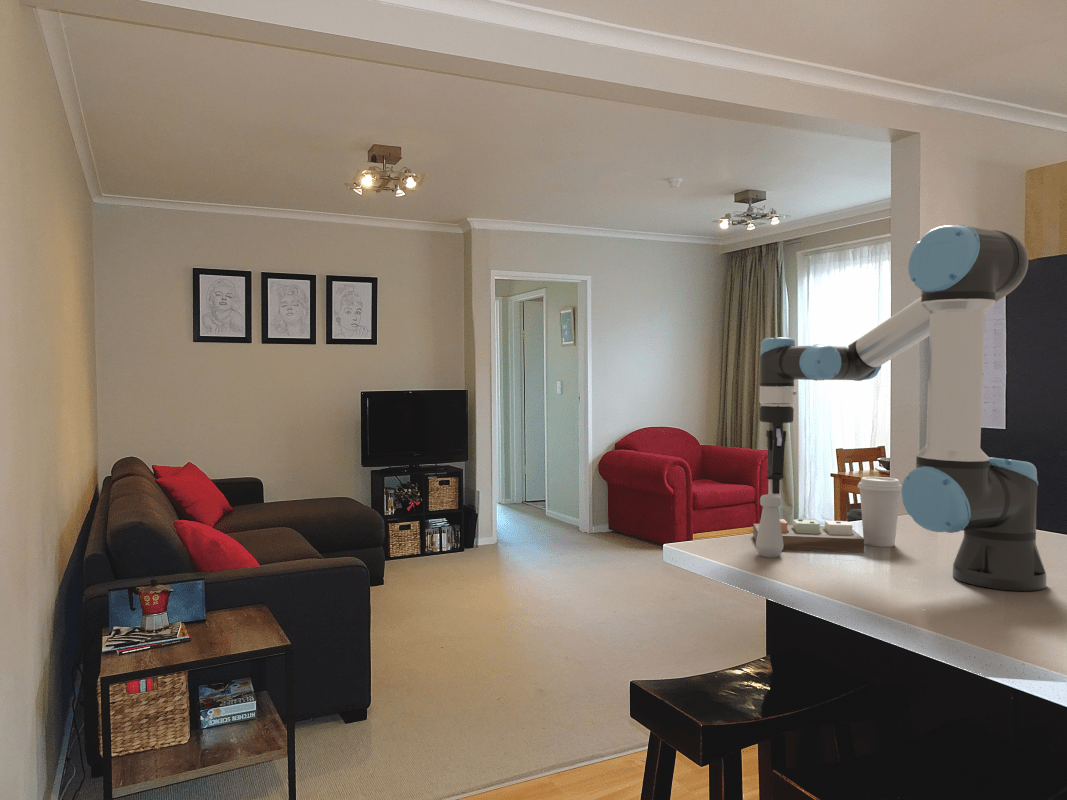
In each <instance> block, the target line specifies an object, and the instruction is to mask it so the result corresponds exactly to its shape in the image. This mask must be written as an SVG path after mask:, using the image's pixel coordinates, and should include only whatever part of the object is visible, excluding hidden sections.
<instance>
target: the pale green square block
mask: <svg viewBox="0 0 1067 800" xmlns="http://www.w3.org/2000/svg"><path fill="white" fill-rule="evenodd" d="M792 525H793V530H794V531H795V533H805V534H820V526H821V525H820V523H819V521H817V520H815V519H813V520H812V519H793V521H792Z"/></svg>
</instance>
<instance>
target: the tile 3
mask: <svg viewBox="0 0 1067 800" xmlns="http://www.w3.org/2000/svg"><path fill="white" fill-rule="evenodd" d="M780 525H781V531H782V533H787V525H788V522H787V521H786V520H785V519H784V518H780Z"/></svg>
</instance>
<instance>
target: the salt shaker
mask: <svg viewBox="0 0 1067 800" xmlns="http://www.w3.org/2000/svg"><path fill="white" fill-rule="evenodd" d="M759 505H760V506H762V510H761V516H760V520H759V523H758V524H759V529H758V534H757V539H756V540H755V547H756V549H757V552H758V555H759V556H761V557H764V558H770V559H771V558H772V559H774V558H779V557H780V556H781V554H782V552H783V550H784V549H783V547H784V544H783V538H782V531H781V525H780V519H781V518H780V514H779V513H780V512H779V508H778V507H779V506H780V505H781V506H782V498H781V499H780V497H779V496H777V495H772V494H762V495H761V496H760V499H759Z"/></svg>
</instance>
